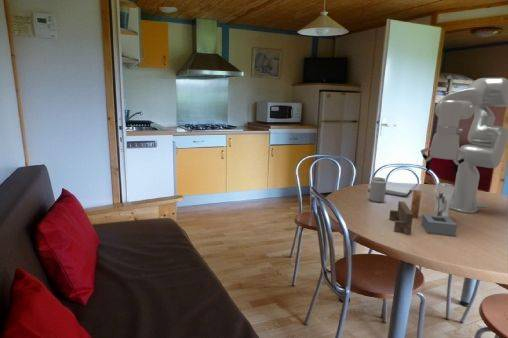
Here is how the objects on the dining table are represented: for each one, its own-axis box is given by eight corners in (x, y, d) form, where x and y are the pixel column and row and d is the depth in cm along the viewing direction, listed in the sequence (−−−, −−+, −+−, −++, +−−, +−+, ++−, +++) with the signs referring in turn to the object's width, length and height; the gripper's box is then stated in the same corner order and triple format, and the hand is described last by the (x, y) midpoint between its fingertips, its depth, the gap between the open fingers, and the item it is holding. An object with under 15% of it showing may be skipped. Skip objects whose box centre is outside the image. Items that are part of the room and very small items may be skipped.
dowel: (417, 215, 156) (420, 190, 153) (418, 218, 153) (422, 192, 150) (409, 215, 157) (412, 189, 154) (410, 217, 154) (414, 191, 151)
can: (386, 203, 174) (389, 180, 172) (371, 202, 174) (373, 179, 172) (381, 199, 182) (383, 176, 179) (367, 198, 182) (369, 176, 179)
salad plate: (407, 198, 185) (407, 192, 185) (366, 192, 196) (367, 186, 195) (412, 190, 203) (413, 185, 202) (375, 185, 214) (376, 179, 213)
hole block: (447, 227, 143) (449, 216, 142) (455, 236, 133) (456, 225, 132) (421, 224, 145) (422, 214, 144) (427, 232, 135) (428, 221, 134)
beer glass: (447, 215, 158) (452, 183, 155) (450, 220, 151) (456, 187, 148) (431, 213, 160) (435, 182, 157) (433, 218, 154) (438, 185, 151)
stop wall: (402, 219, 150) (404, 201, 149) (410, 234, 133) (413, 214, 132) (388, 217, 152) (390, 200, 150) (395, 232, 134) (397, 212, 133)
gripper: (472, 132, 139) (465, 174, 142) (425, 129, 148) (419, 168, 152) (471, 133, 133) (464, 176, 136) (422, 129, 142) (416, 170, 145)
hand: (440, 172), depth 144 cm, fingers open, 9 cm apart
